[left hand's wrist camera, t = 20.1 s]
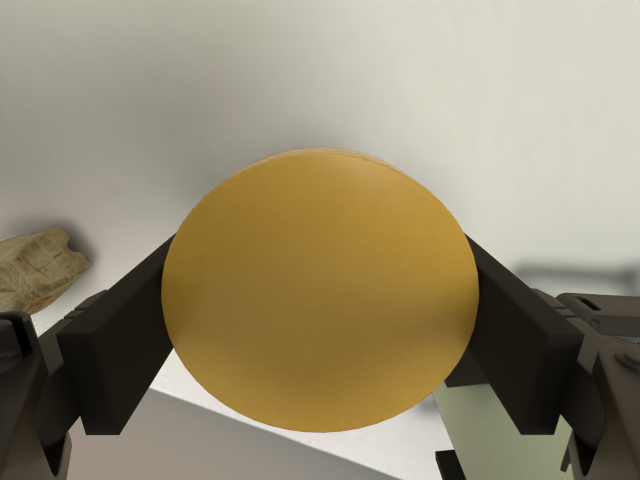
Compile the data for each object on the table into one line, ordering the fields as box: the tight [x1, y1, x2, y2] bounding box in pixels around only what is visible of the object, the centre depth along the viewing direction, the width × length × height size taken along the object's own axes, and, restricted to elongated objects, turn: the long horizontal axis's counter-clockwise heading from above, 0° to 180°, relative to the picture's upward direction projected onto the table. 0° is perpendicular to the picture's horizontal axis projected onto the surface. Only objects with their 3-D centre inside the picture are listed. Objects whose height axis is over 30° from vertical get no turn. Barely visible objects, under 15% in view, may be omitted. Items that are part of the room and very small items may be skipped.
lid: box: [161, 147, 479, 433], centre depth 11 cm, size 9×9×2 cm
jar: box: [432, 381, 574, 480], centre depth 20 cm, size 9×9×17 cm
